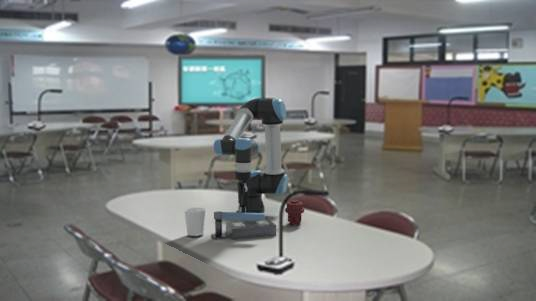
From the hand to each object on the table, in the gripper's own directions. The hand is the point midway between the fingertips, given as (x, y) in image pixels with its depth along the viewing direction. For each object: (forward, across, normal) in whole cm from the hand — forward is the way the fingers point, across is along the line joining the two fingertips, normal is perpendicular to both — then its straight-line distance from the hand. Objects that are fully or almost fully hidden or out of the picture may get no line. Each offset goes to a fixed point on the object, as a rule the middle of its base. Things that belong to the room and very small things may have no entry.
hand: (242, 219), depth 259 cm
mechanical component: (+8, -13, +32) cm, 35 cm away
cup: (+9, -8, -21) cm, 24 cm away
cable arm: (-1, +2, -2) cm, 3 cm away
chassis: (+8, -2, +5) cm, 10 cm away
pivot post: (+8, -2, -11) cm, 14 cm away
